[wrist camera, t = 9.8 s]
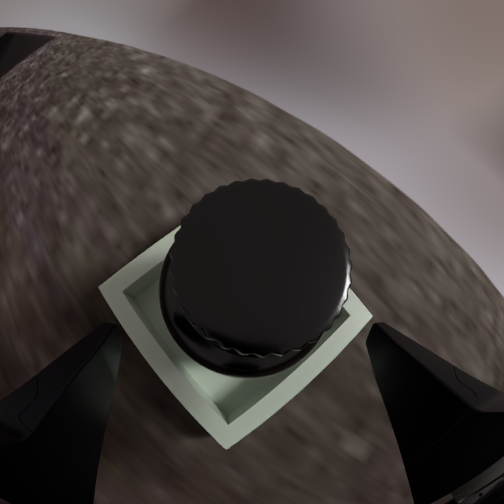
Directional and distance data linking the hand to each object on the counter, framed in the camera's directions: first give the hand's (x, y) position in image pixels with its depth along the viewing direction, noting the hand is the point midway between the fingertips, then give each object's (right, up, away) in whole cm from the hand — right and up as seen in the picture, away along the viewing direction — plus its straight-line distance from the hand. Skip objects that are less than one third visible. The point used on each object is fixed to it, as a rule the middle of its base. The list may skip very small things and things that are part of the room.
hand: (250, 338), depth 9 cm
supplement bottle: (-1, -1, +9) cm, 10 cm away
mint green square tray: (-1, -1, +10) cm, 10 cm away
